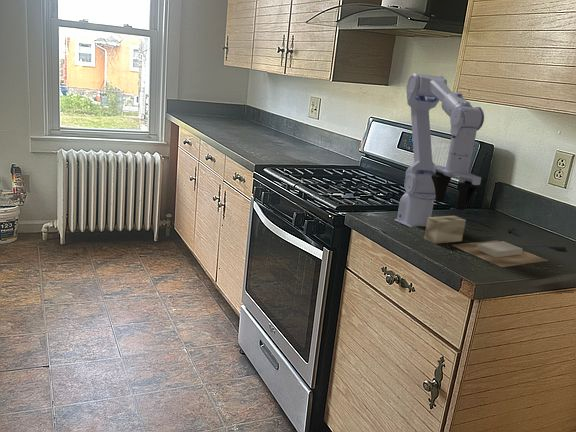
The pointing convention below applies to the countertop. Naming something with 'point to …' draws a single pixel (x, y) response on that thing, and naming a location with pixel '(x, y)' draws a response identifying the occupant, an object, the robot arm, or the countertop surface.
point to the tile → (499, 249)
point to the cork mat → (500, 261)
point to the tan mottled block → (444, 229)
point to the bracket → (557, 248)
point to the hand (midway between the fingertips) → (450, 205)
